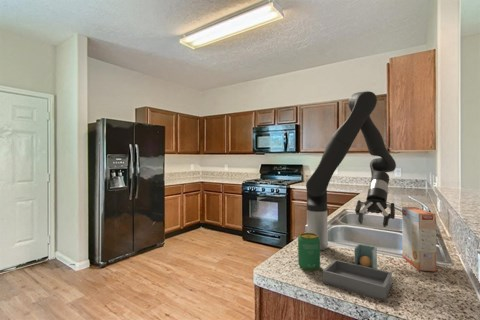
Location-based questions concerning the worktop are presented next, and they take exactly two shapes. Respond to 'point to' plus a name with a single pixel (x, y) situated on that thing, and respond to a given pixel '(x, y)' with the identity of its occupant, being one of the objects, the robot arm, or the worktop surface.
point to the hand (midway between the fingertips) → (372, 224)
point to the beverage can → (309, 251)
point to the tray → (358, 279)
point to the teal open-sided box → (366, 254)
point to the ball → (365, 261)
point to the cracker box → (419, 238)
